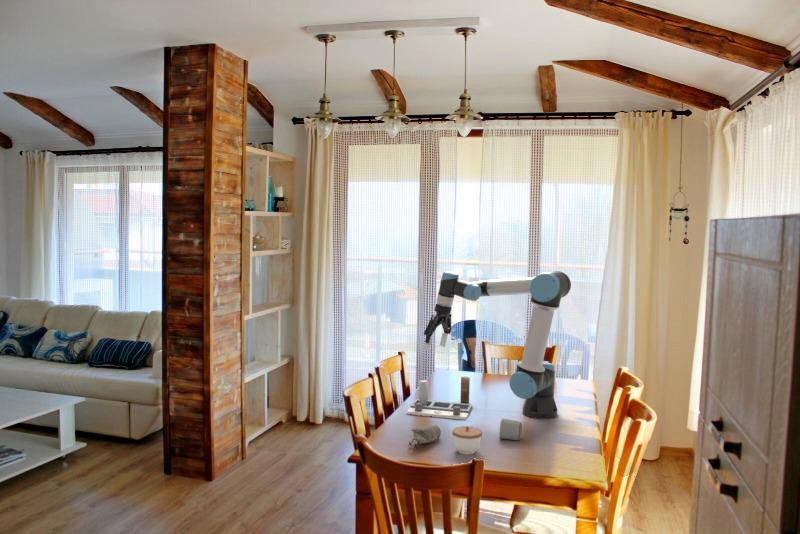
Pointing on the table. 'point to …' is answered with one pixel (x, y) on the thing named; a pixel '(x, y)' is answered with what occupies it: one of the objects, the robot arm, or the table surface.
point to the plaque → (438, 412)
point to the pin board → (431, 404)
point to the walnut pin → (465, 390)
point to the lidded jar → (467, 439)
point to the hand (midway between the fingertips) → (434, 347)
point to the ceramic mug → (510, 429)
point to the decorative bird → (425, 434)
